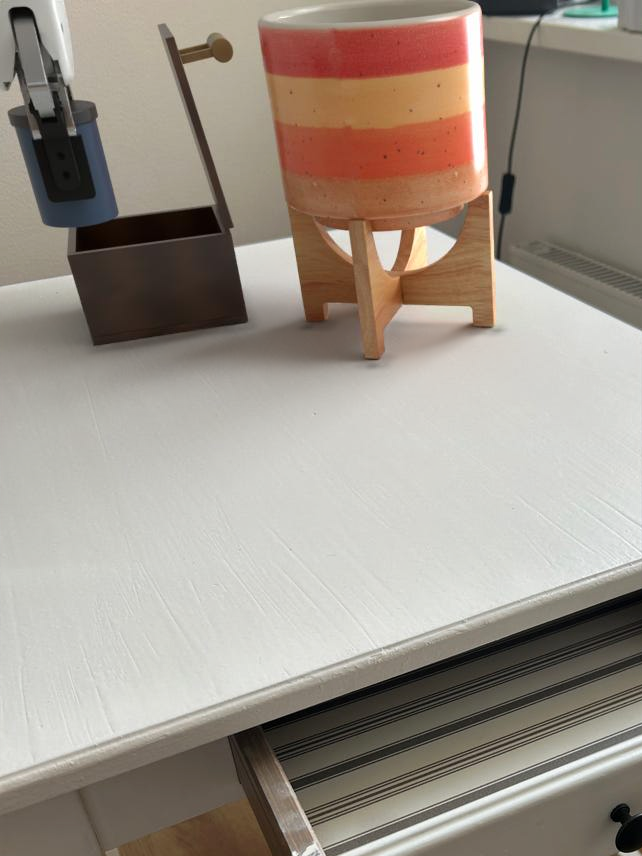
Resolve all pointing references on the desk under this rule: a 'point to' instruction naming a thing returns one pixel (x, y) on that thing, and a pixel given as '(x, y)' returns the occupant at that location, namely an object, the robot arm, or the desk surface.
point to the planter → (383, 152)
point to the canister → (104, 200)
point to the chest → (156, 274)
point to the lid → (222, 53)
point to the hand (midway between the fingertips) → (73, 186)
